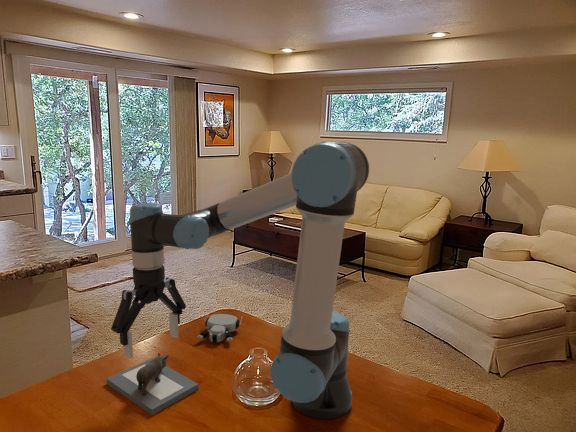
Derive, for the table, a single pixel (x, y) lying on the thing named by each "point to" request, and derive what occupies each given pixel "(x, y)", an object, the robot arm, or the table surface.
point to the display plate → (153, 388)
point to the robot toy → (220, 327)
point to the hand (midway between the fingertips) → (152, 346)
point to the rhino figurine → (150, 372)
